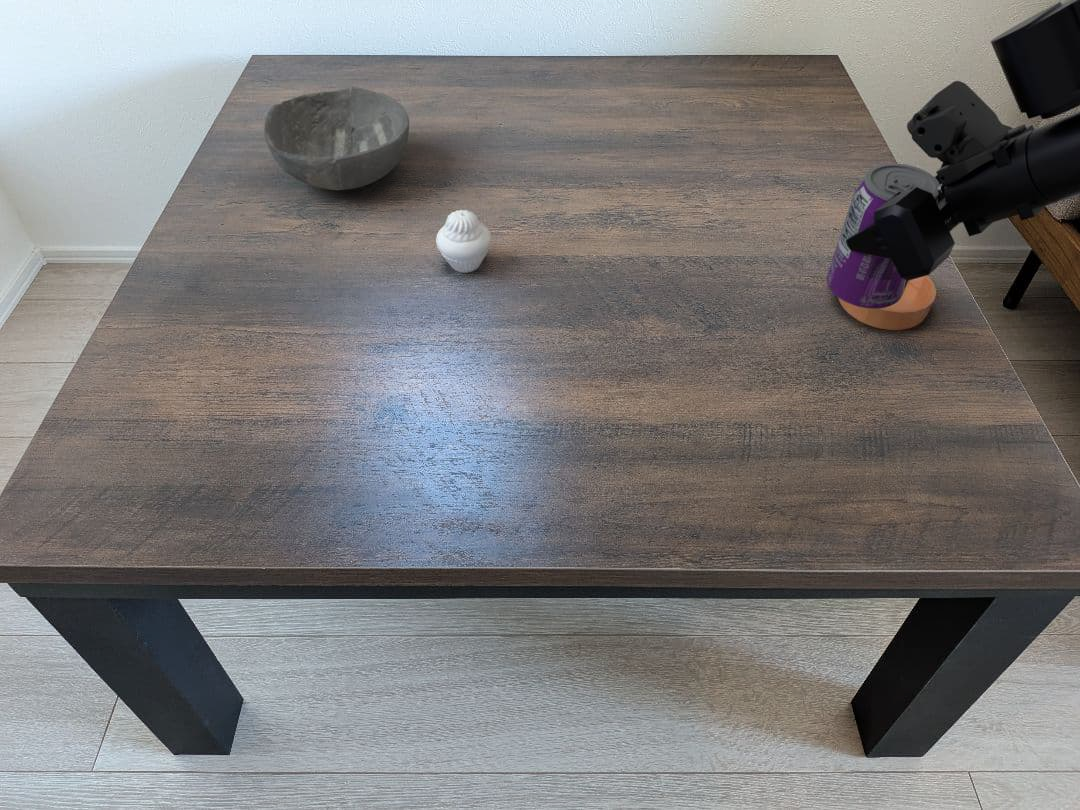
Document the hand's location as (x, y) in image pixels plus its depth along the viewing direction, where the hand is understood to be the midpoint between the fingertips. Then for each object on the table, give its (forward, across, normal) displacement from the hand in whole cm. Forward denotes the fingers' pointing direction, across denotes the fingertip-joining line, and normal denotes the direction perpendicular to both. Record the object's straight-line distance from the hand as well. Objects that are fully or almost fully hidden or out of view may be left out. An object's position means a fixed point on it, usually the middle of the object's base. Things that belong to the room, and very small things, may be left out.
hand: (869, 228), depth 72 cm
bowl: (+52, +18, -34) cm, 65 cm away
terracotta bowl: (+9, -9, +10) cm, 16 cm away
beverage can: (+4, 0, +6) cm, 7 cm away
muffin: (+34, +20, -16) cm, 43 cm away
